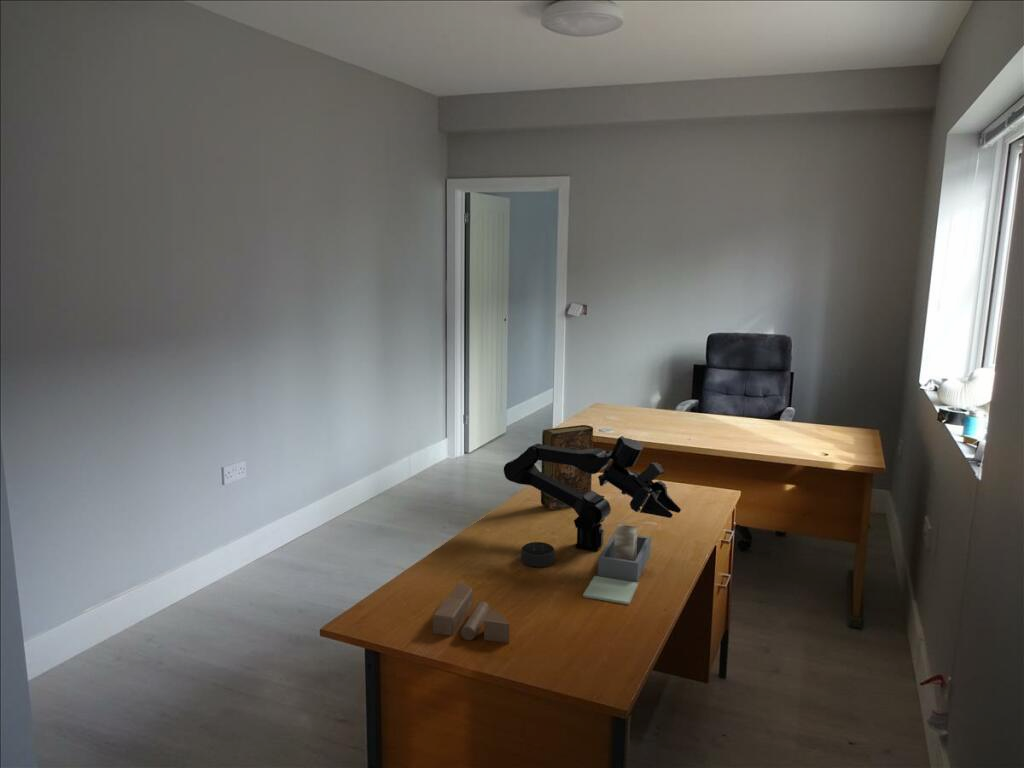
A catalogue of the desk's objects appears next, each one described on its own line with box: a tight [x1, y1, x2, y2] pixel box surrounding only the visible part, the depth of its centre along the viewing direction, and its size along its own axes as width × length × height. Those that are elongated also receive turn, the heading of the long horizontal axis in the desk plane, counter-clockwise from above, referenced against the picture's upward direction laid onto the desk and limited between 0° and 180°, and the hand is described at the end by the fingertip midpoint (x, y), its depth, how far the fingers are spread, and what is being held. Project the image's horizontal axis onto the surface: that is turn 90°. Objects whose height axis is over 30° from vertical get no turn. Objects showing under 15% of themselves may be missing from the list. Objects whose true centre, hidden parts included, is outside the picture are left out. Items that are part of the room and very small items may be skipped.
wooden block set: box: [432, 582, 510, 644], centre depth 170 cm, size 17×6×18 cm
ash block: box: [613, 524, 639, 561], centre depth 198 cm, size 5×5×8 cm
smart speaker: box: [520, 541, 556, 568], centre depth 201 cm, size 9×9×4 cm
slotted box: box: [597, 531, 652, 583], centre depth 199 cm, size 10×18×5 cm, turn 160°
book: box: [540, 424, 594, 511], centre depth 242 cm, size 16×6×25 cm, turn 117°
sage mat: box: [582, 575, 639, 605], centre depth 185 cm, size 11×11×1 cm
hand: (676, 513), depth 197 cm, fingers open, 9 cm apart
